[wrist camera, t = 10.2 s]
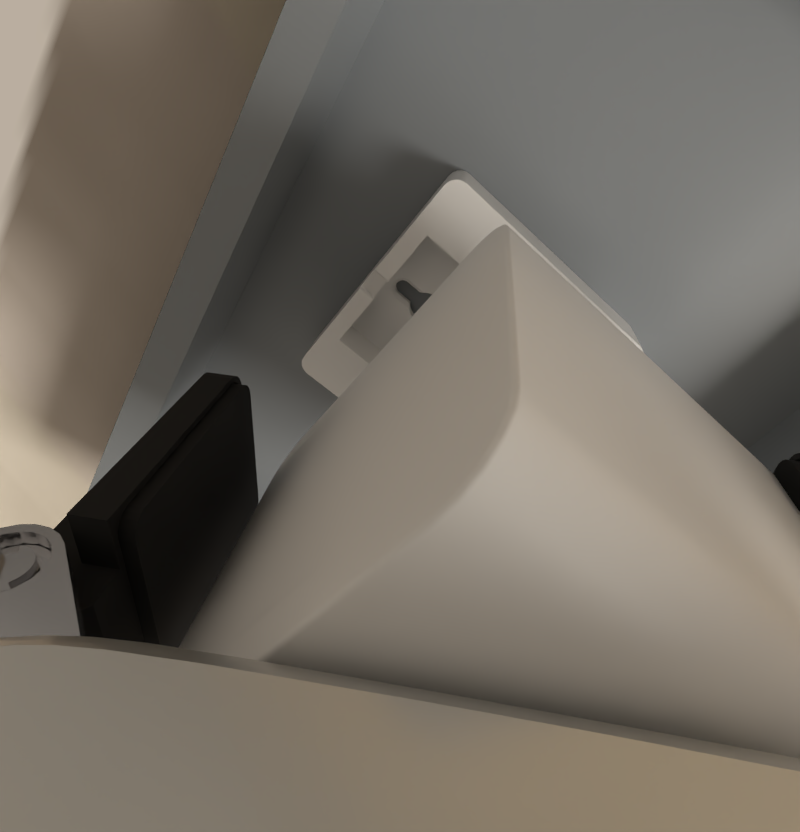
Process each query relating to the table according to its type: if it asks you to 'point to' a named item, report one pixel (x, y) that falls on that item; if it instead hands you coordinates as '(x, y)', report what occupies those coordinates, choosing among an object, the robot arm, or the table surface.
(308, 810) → the robot arm
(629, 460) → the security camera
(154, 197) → the table surface
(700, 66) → the parts tray
